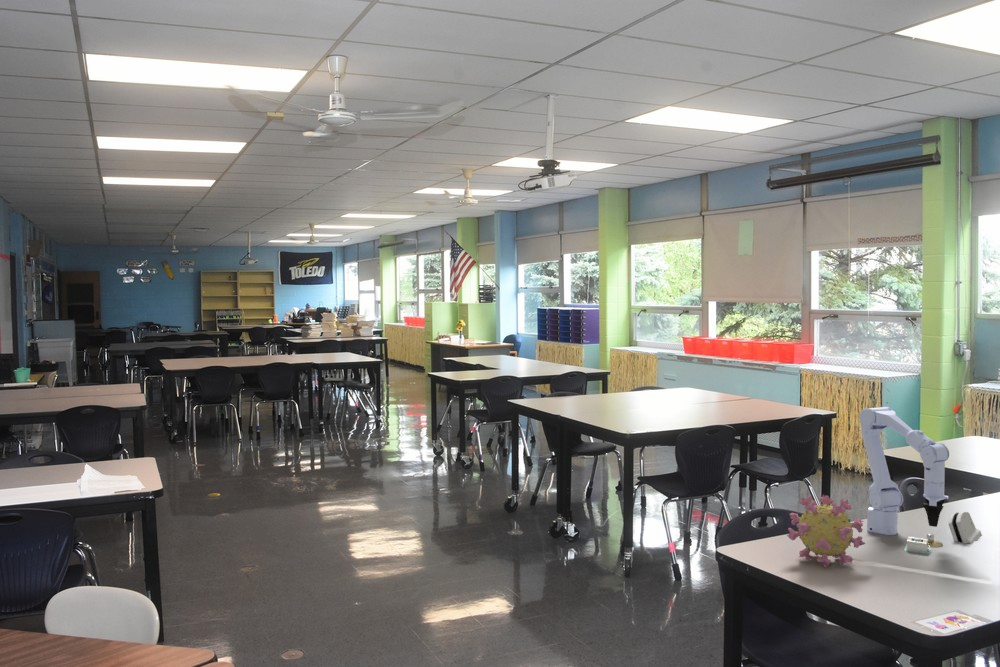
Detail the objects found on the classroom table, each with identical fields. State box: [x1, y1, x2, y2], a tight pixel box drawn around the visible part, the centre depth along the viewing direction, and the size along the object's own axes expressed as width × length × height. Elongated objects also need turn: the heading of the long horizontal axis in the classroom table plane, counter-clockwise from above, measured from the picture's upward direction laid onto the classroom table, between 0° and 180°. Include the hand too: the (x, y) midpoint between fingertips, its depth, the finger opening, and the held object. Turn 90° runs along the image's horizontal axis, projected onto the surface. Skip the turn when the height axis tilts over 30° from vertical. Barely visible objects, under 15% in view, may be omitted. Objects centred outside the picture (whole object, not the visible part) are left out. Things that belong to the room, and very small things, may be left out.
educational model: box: [786, 494, 866, 569], centre depth 237 cm, size 23×22×20 cm
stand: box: [903, 537, 932, 555], centre depth 246 cm, size 7×7×4 cm
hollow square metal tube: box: [906, 536, 929, 554], centre depth 246 cm, size 6×6×3 cm
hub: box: [926, 533, 943, 548], centre depth 252 cm, size 7×7×4 cm
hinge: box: [948, 511, 983, 545], centre depth 259 cm, size 17×5×10 cm, turn 138°
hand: (933, 523), depth 247 cm, fingers open, 7 cm apart
